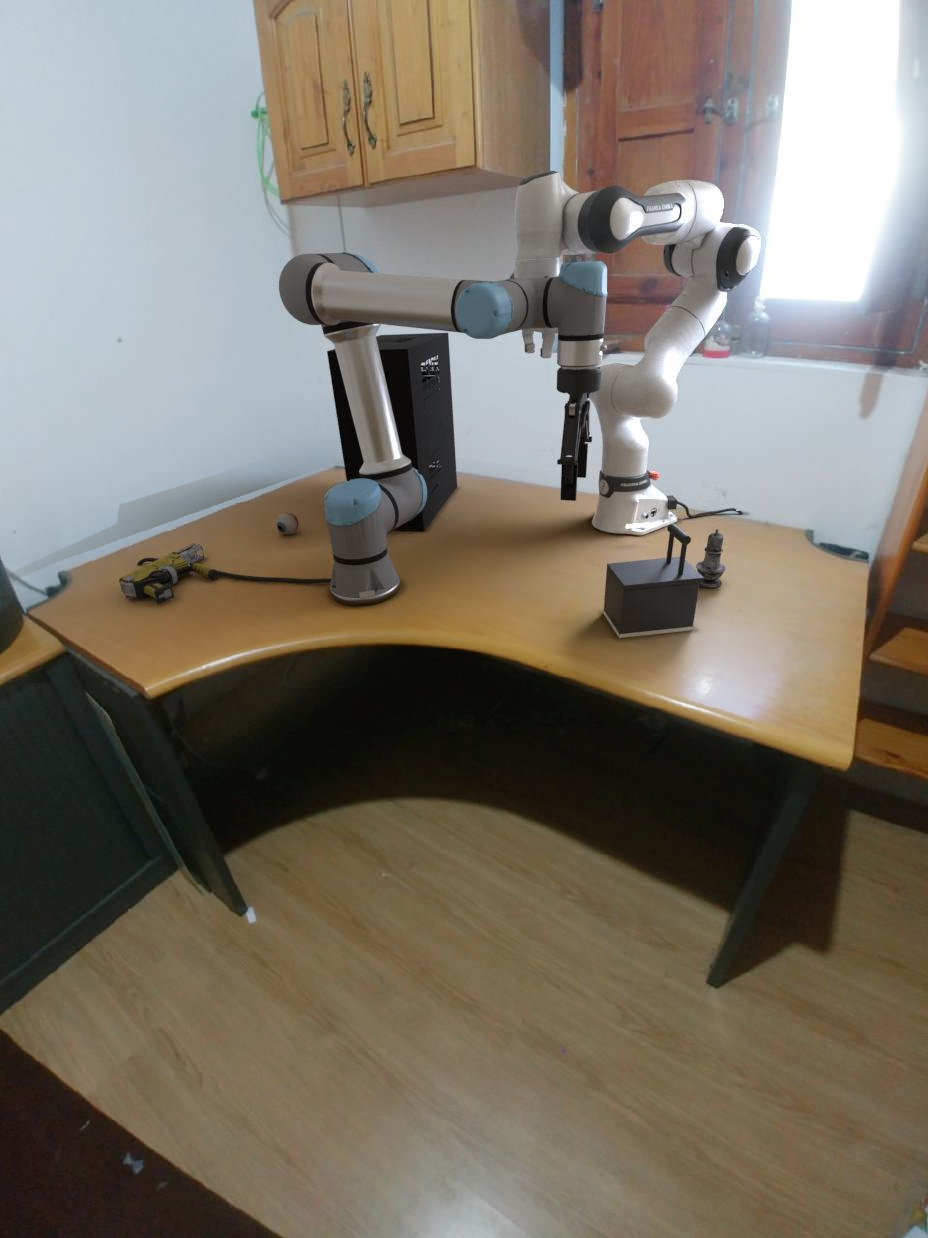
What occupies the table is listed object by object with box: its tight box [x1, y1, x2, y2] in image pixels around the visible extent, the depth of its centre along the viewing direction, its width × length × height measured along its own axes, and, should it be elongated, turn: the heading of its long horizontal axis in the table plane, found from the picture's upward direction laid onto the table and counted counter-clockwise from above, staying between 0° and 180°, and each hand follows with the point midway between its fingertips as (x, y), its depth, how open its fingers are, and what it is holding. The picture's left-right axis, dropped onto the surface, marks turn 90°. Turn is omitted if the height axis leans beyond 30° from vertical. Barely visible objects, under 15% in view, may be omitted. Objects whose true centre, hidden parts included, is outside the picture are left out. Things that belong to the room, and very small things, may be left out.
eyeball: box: [275, 511, 300, 536], centre depth 163 cm, size 6×6×6 cm
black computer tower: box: [326, 332, 458, 532], centre depth 169 cm, size 38×20×45 cm, turn 167°
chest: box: [602, 568, 701, 639], centre depth 113 cm, size 14×9×10 cm
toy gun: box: [118, 542, 219, 605], centre depth 141 cm, size 5×24×15 cm
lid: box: [606, 523, 704, 590], centre depth 109 cm, size 15×9×9 cm, turn 97°
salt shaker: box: [695, 528, 727, 589], centre depth 125 cm, size 6×6×12 cm
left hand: (573, 488), depth 113 cm, fingers open, 13 cm apart
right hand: (537, 355), depth 122 cm, fingers open, 8 cm apart
